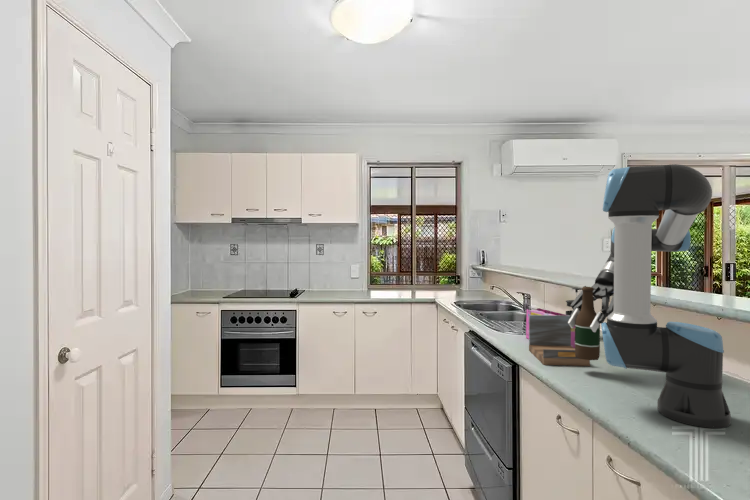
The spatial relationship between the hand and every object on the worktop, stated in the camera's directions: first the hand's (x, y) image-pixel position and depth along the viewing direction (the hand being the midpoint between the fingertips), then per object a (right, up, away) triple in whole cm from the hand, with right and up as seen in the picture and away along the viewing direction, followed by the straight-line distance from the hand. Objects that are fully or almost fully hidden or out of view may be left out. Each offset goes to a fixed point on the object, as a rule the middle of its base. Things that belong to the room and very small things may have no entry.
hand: (581, 327), depth 143 cm
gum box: (+6, -15, +42) cm, 45 cm away
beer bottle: (+3, -11, +2) cm, 11 cm away
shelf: (+1, -15, +20) cm, 25 cm away
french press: (+23, -15, +52) cm, 59 cm away
